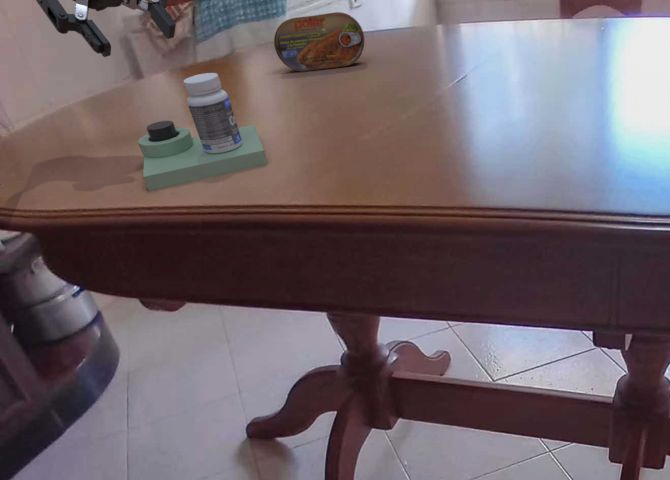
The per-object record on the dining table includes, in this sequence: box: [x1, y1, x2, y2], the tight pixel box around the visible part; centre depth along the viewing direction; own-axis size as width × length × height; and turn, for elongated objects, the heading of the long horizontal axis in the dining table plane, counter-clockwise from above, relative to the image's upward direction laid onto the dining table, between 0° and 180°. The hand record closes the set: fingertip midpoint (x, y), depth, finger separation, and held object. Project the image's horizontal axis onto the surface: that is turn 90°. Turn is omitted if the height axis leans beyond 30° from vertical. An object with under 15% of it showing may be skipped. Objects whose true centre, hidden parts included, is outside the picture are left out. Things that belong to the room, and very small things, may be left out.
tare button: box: [146, 120, 178, 142], centre depth 87 cm, size 3×3×2 cm
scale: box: [137, 124, 269, 192], centre depth 87 cm, size 14×12×4 cm
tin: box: [273, 11, 365, 73], centre depth 118 cm, size 15×3×8 cm, turn 92°
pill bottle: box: [183, 72, 242, 154], centre depth 84 cm, size 5×5×8 cm
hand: (140, 42), depth 85 cm, fingers open, 8 cm apart
